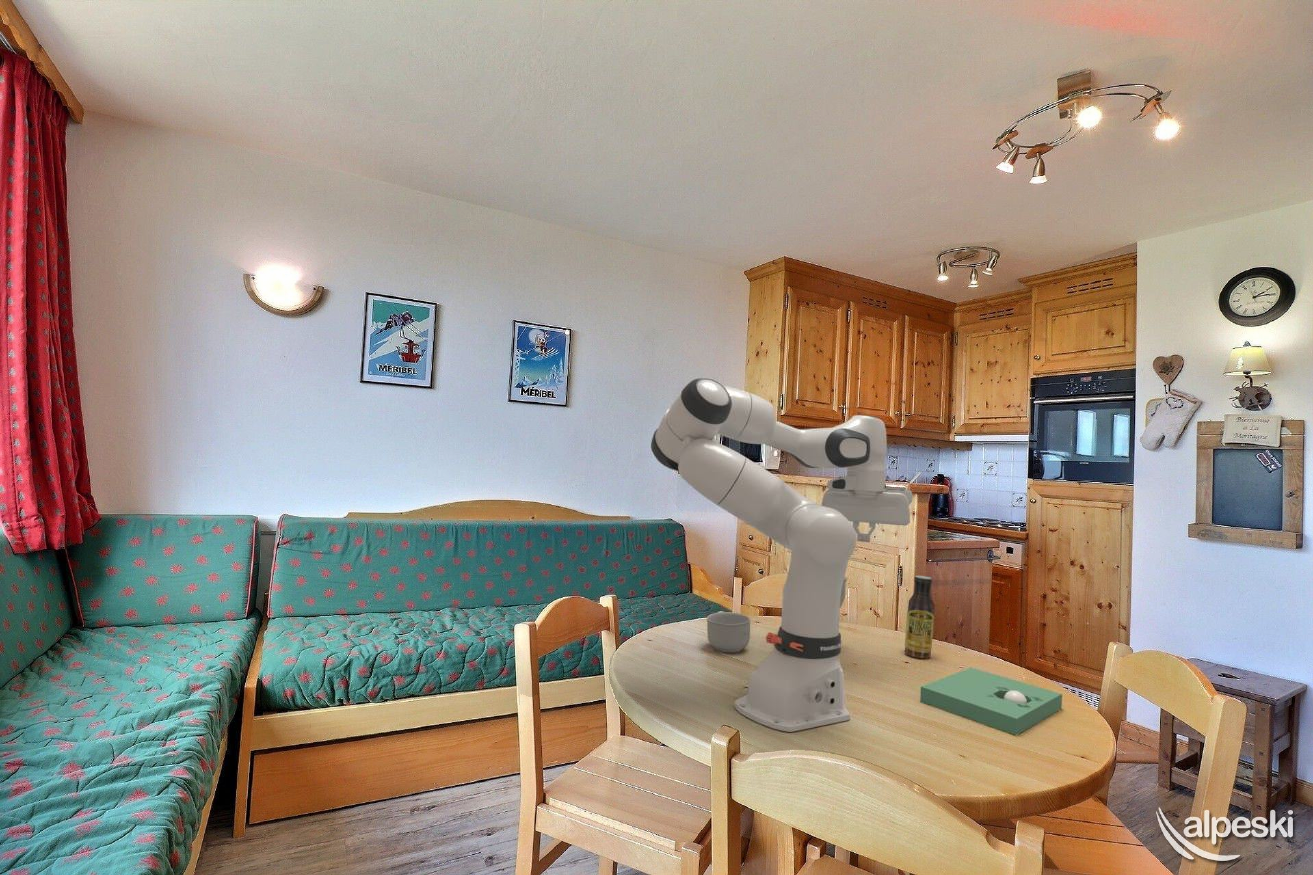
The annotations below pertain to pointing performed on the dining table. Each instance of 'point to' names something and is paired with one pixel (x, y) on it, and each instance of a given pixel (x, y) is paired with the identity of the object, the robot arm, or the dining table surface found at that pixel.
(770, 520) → the robot arm
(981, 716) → the putting board
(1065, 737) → the dining table surface
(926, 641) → the sauce bottle
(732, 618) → the teacup
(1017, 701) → the ball
